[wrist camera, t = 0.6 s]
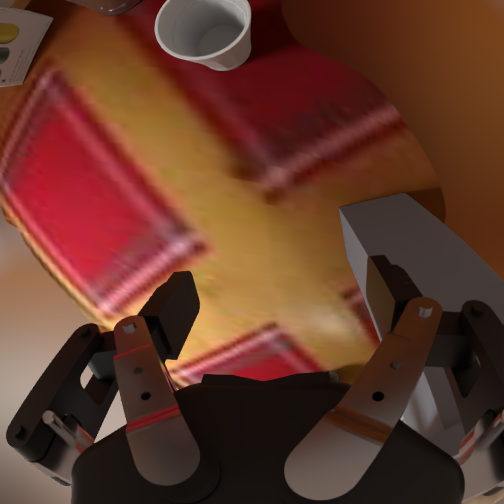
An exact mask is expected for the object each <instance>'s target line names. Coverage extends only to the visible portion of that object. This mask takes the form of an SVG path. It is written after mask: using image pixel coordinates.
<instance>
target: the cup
mask: <svg viewBox="0 0 504 504" xmlns="http://www.w3.org/2000/svg"><path fill="white" fill-rule="evenodd" d="M250 27H251V9H250V5H249V3H248V1H247V0H167V1H166V2H165V4H164V5H163V6H162V8H161V9H160V11H159V13H158V15H157V18H156V22H155V34H156V38H157V40H158V42H159V44H160V46H161V47H162V48H163V49H164V50H165V51H166V52H168V53H169V54H171V55H173V56H175V57H177V58H181V59H184V60H188V61H192V62H197V63H200V64H203V65H206V66H208V67H210V68H212V69H214V70H219V71H227V70H232V69H235V68H237V67H239V66H240V65H242V64H243V63H244V62H245V61H246V60H247V58H248V57H249V55H250V52H251V42H250Z"/></svg>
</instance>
